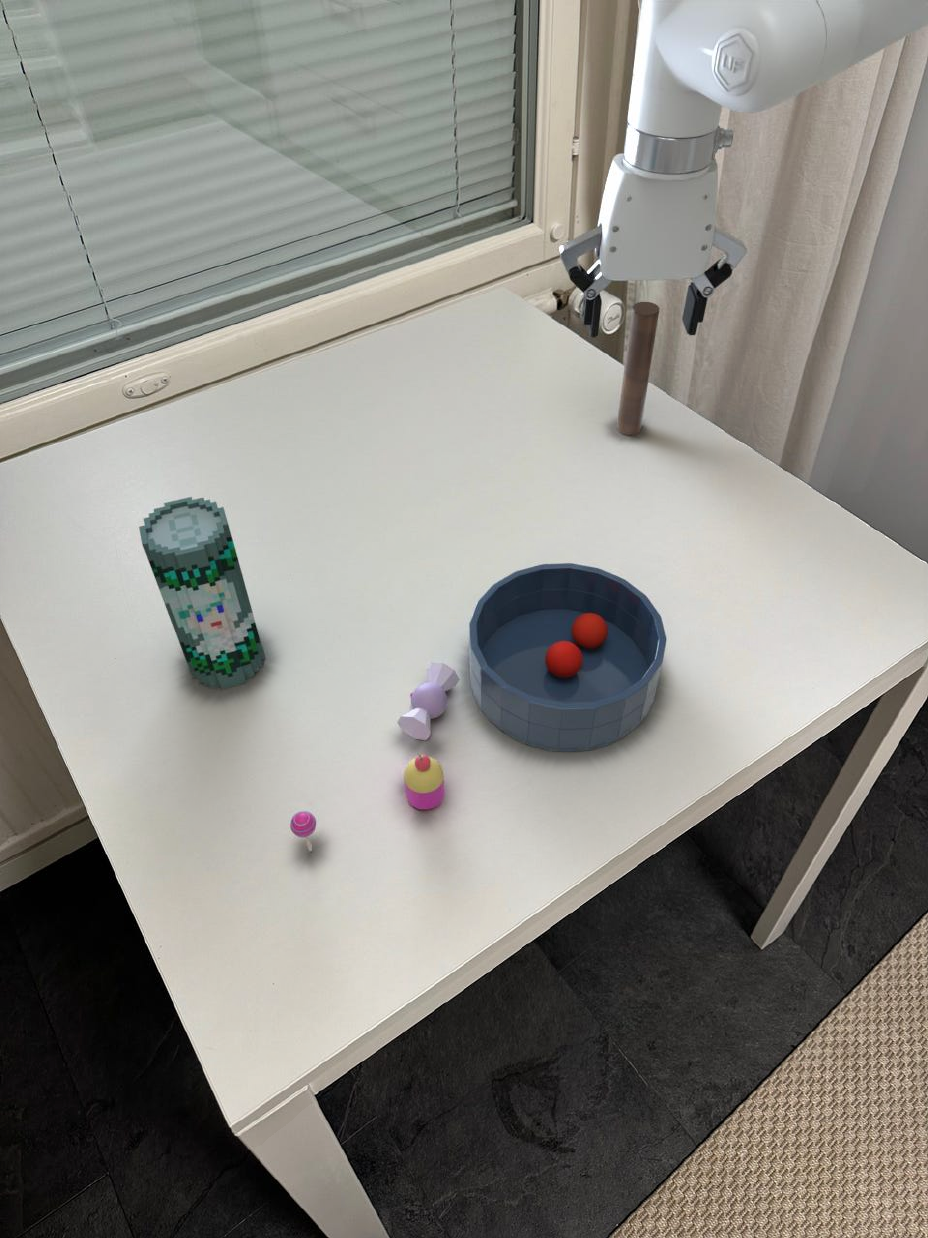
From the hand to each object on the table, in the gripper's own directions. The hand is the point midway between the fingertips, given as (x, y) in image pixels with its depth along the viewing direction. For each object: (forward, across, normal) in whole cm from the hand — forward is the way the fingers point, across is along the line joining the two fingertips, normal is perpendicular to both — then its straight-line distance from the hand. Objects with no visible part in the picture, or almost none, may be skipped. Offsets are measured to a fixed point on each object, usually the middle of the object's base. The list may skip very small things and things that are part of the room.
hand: (640, 329), depth 88 cm
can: (+12, +39, +31) cm, 51 cm away
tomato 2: (+9, +8, +31) cm, 34 cm away
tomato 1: (+9, +11, +34) cm, 37 cm away
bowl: (+11, +11, +34) cm, 38 cm away
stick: (+12, 0, 0) cm, 12 cm away
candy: (+12, +24, +43) cm, 51 cm away
